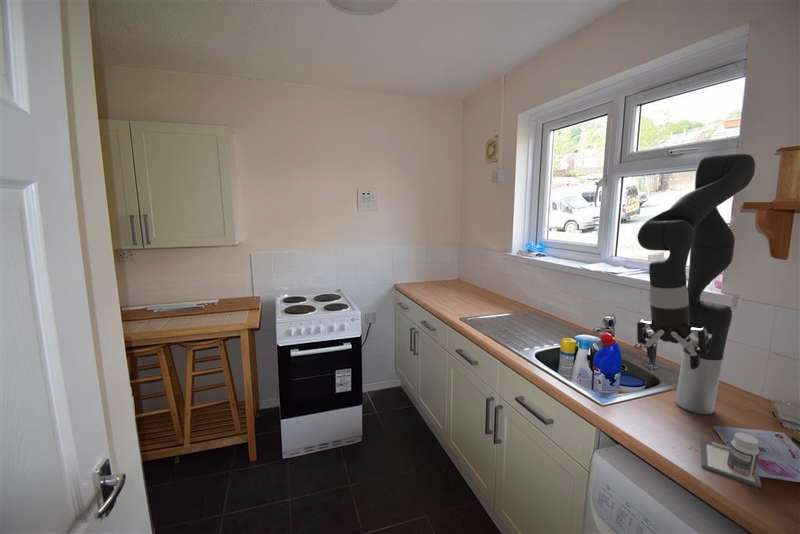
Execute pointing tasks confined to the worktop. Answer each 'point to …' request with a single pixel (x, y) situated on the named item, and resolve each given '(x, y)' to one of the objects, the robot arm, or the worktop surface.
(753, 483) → the tray
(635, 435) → the worktop surface
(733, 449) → the pill bottle
